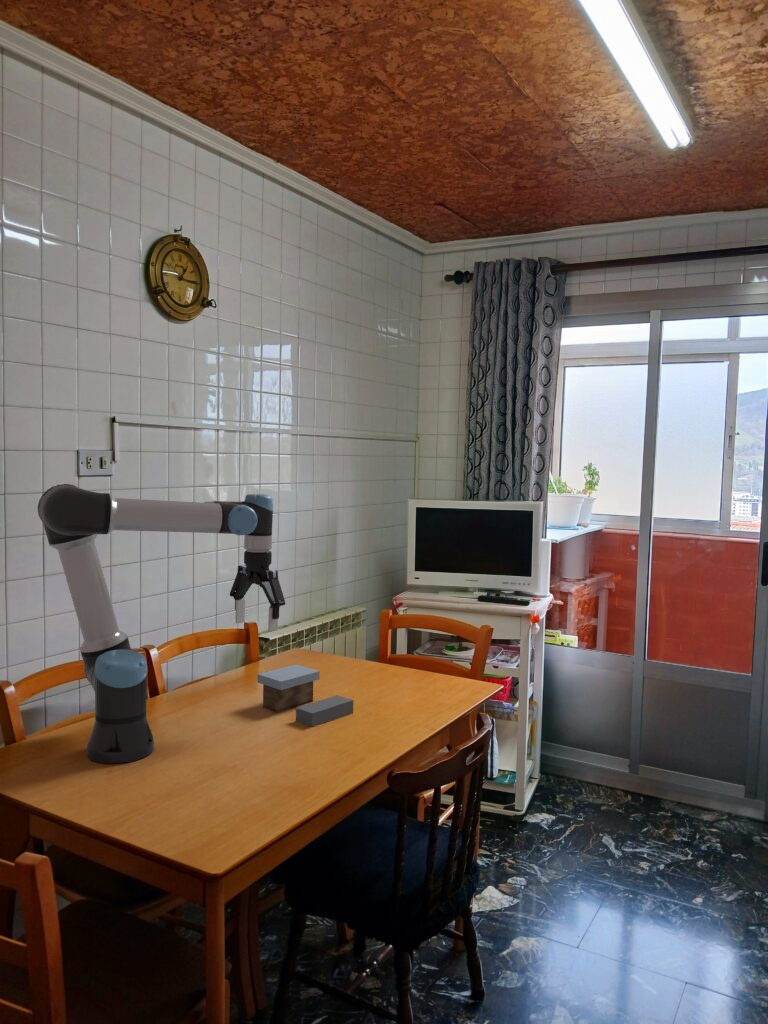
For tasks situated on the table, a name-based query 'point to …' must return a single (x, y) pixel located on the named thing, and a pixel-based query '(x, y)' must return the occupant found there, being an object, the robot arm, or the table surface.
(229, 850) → the table surface
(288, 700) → the box
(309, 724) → the block
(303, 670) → the lid
